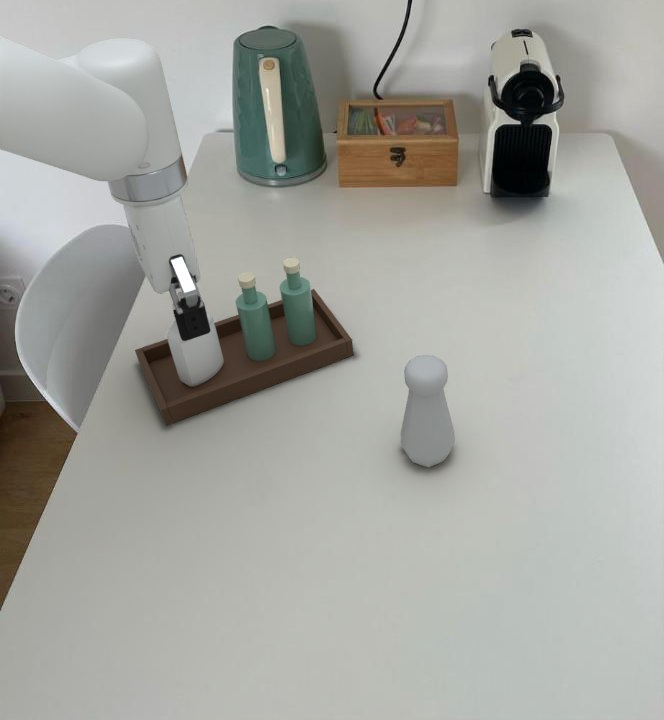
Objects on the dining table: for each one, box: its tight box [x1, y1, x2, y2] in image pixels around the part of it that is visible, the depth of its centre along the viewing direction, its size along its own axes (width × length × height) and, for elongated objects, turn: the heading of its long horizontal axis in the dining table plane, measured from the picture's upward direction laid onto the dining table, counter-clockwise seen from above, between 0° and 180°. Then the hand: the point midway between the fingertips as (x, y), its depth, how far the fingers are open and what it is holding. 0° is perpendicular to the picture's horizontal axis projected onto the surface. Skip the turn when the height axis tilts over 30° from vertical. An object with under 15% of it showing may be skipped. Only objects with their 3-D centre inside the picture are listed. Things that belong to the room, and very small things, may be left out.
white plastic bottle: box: [166, 291, 224, 387], centre depth 93 cm, size 4×6×12 cm
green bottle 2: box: [279, 257, 317, 346], centre depth 98 cm, size 4×4×11 cm
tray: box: [134, 288, 355, 426], centre depth 99 cm, size 24×12×3 cm, turn 118°
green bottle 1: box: [235, 271, 276, 361], centre depth 96 cm, size 4×4×11 cm
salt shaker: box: [400, 354, 456, 468], centre depth 83 cm, size 6×6×13 cm
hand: (182, 311), depth 90 cm, fingers open, 9 cm apart
